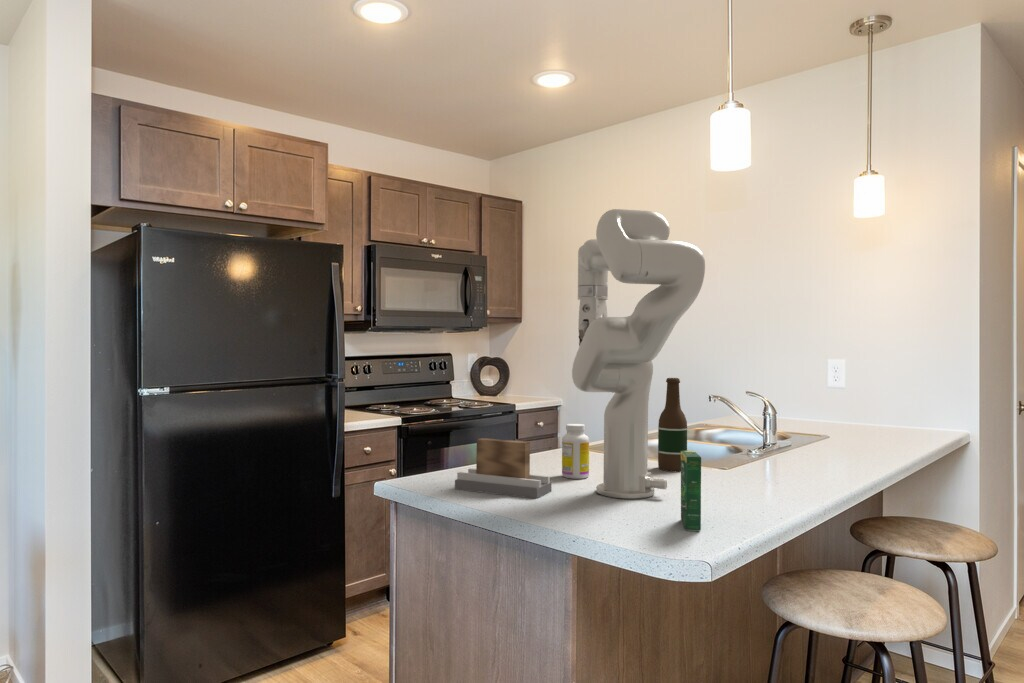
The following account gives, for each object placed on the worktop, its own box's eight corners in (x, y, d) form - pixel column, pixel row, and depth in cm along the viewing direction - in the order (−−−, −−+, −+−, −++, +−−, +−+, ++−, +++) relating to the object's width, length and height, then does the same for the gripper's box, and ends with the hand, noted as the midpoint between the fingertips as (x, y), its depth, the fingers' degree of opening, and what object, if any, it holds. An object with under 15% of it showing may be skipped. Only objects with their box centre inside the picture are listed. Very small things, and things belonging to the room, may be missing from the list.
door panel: (529, 482, 148) (529, 441, 148) (524, 484, 146) (525, 443, 146) (481, 477, 153) (481, 438, 153) (476, 479, 151) (476, 439, 151)
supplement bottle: (588, 474, 168) (589, 423, 168) (589, 480, 162) (589, 426, 162) (562, 473, 169) (562, 422, 169) (561, 479, 162) (561, 425, 162)
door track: (551, 491, 149) (551, 475, 149) (537, 498, 141) (537, 481, 141) (472, 482, 157) (472, 467, 157) (454, 489, 150) (455, 473, 150)
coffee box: (679, 519, 126) (679, 449, 126) (695, 519, 125) (695, 449, 126) (684, 530, 118) (685, 456, 118) (701, 531, 117) (702, 456, 118)
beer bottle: (652, 466, 180) (652, 377, 180) (678, 466, 182) (679, 377, 182) (665, 472, 172) (666, 378, 172) (693, 471, 174) (693, 378, 174)
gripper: (595, 290, 161) (595, 362, 161) (616, 295, 176) (616, 361, 176) (566, 291, 164) (565, 361, 164) (589, 296, 180) (589, 360, 179)
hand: (592, 361), depth 170 cm, fingers open, 9 cm apart
